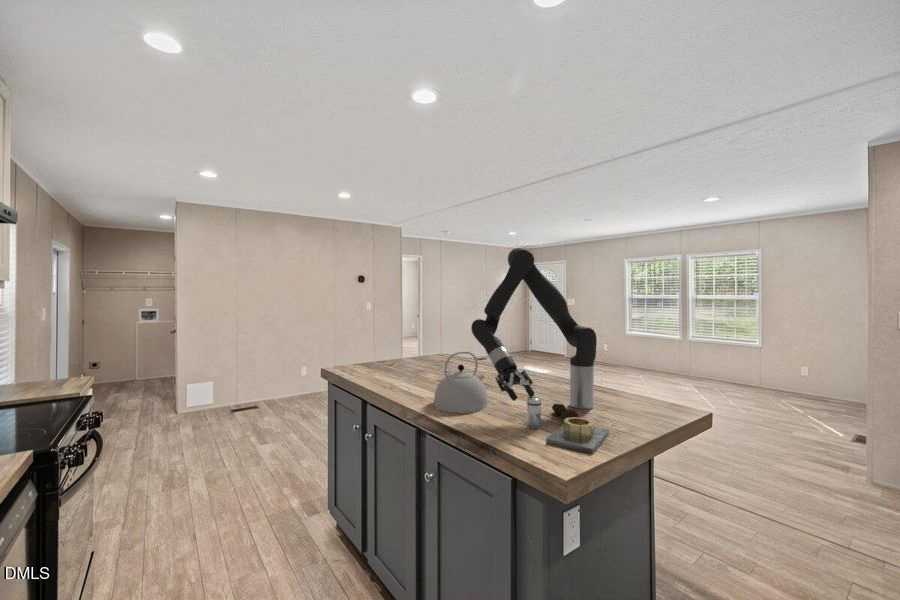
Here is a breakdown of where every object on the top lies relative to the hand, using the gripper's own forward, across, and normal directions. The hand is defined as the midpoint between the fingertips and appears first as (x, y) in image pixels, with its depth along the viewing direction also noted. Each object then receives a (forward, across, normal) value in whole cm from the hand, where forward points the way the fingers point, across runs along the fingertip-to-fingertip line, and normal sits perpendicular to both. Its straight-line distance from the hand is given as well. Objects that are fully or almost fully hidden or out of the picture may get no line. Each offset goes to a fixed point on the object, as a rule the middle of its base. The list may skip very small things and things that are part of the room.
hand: (524, 397), depth 138 cm
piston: (+10, 0, +3) cm, 10 cm away
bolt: (+10, +17, +4) cm, 20 cm away
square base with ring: (+21, +4, -8) cm, 23 cm away
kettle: (-16, -3, +30) cm, 34 cm away
